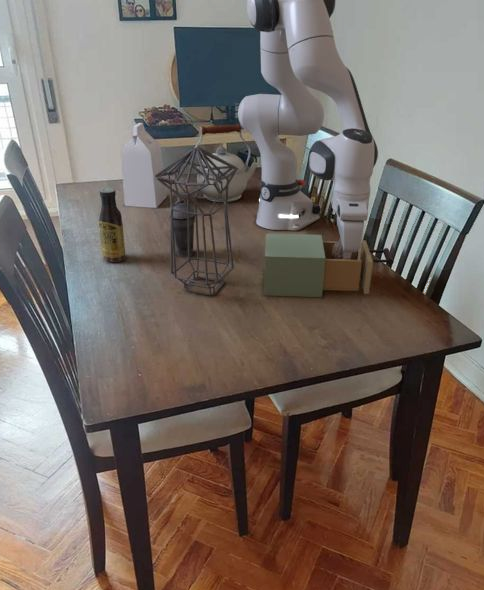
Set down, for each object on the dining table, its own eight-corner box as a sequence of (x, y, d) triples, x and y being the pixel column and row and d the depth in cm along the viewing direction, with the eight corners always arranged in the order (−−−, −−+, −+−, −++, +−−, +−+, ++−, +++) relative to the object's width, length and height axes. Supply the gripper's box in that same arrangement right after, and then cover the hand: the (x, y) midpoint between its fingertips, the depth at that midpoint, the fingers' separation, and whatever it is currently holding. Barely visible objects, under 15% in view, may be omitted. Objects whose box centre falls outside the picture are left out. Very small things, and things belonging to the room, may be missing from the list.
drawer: (383, 271, 151) (387, 240, 146) (391, 294, 140) (396, 262, 135) (312, 269, 151) (314, 238, 146) (315, 292, 140) (317, 260, 135)
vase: (362, 268, 143) (366, 236, 138) (344, 275, 139) (347, 243, 134) (342, 259, 147) (345, 228, 142) (324, 266, 143) (327, 234, 138)
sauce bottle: (99, 261, 154) (87, 191, 143) (111, 252, 159) (101, 184, 148) (119, 265, 153) (109, 194, 142) (131, 256, 158) (122, 187, 147)
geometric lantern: (218, 306, 135) (213, 160, 115) (161, 294, 139) (147, 151, 120) (242, 279, 147) (242, 143, 128) (190, 269, 151) (181, 136, 132)
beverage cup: (193, 260, 157) (188, 190, 145) (168, 257, 158) (162, 188, 147) (200, 250, 162) (197, 182, 151) (177, 247, 164) (172, 180, 153)
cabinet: (318, 271, 152) (321, 234, 146) (322, 297, 140) (325, 257, 134) (265, 270, 152) (266, 233, 146) (264, 295, 140) (264, 256, 134)
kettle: (201, 207, 193) (198, 133, 179) (187, 192, 207) (182, 121, 193) (267, 199, 201) (268, 128, 188) (248, 185, 215) (248, 117, 202)
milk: (136, 195, 203) (127, 120, 188) (166, 197, 202) (160, 122, 187) (124, 205, 193) (114, 127, 178) (156, 208, 192) (149, 129, 177)
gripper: (334, 187, 142) (329, 238, 150) (341, 215, 125) (335, 270, 133) (358, 188, 142) (352, 238, 150) (368, 216, 125) (361, 271, 133)
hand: (344, 254), depth 141 cm, fingers closed on vase, 7 cm apart
